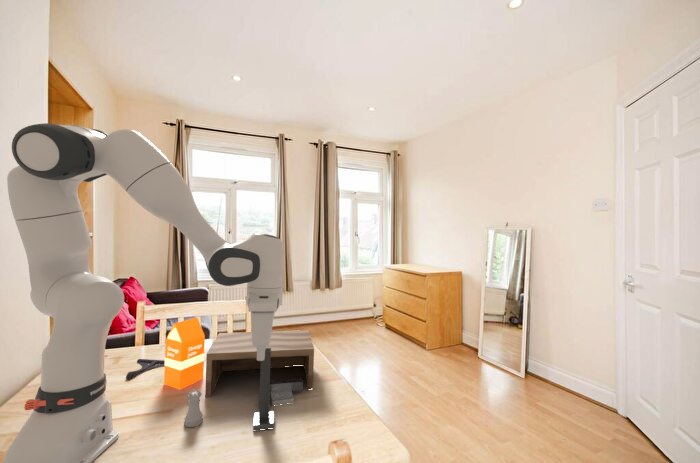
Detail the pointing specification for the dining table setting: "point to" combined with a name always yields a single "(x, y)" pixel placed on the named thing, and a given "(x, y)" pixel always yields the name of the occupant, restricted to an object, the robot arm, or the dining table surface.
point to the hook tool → (264, 416)
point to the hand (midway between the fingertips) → (261, 352)
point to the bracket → (145, 367)
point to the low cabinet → (242, 355)
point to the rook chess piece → (193, 410)
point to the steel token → (282, 397)
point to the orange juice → (184, 354)
